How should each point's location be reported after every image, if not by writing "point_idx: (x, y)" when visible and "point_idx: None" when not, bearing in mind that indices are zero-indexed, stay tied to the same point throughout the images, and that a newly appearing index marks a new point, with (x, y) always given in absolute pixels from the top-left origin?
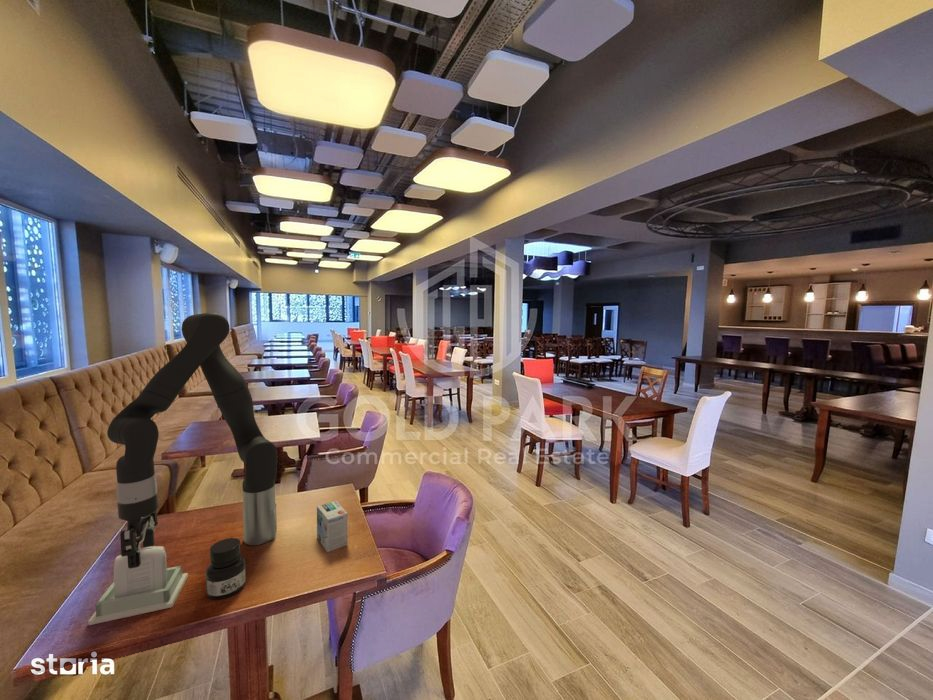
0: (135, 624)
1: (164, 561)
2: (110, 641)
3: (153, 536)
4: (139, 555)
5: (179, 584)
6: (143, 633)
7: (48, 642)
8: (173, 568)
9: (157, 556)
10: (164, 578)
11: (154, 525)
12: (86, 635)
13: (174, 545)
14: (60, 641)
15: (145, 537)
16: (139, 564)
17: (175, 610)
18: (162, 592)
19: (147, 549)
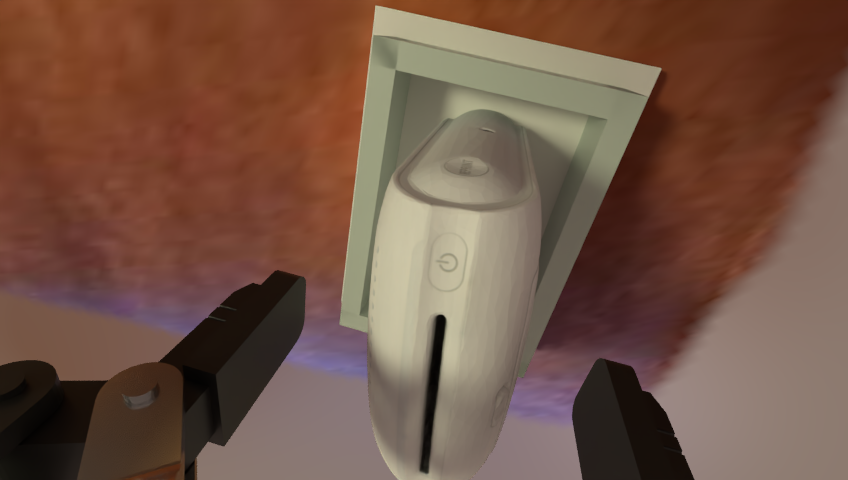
0: (664, 215)
1: (503, 158)
2: (710, 285)
3: (235, 333)
4: (656, 456)
5: (479, 44)
6: (778, 180)
7: (546, 416)
8: (384, 86)
9: (539, 240)
10: (506, 131)
11: (57, 400)
12: (592, 346)
13: (64, 106)
14: (566, 396)
15: (245, 398)
16: (632, 374)
17: (703, 47)
18: (629, 129)
19: (465, 359)
